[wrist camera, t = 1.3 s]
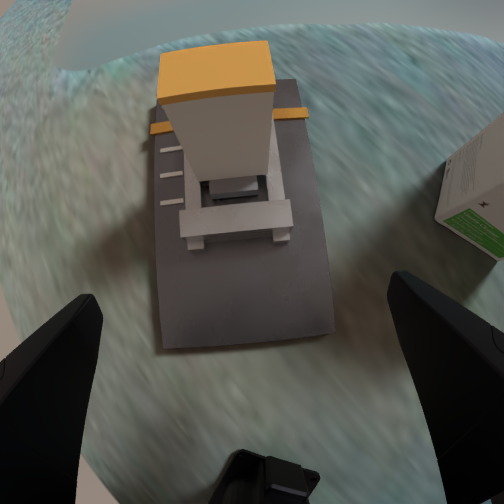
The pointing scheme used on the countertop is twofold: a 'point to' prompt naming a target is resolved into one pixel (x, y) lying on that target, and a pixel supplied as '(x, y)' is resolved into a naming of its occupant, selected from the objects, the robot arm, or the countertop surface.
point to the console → (242, 243)
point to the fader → (221, 112)
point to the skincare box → (476, 191)
